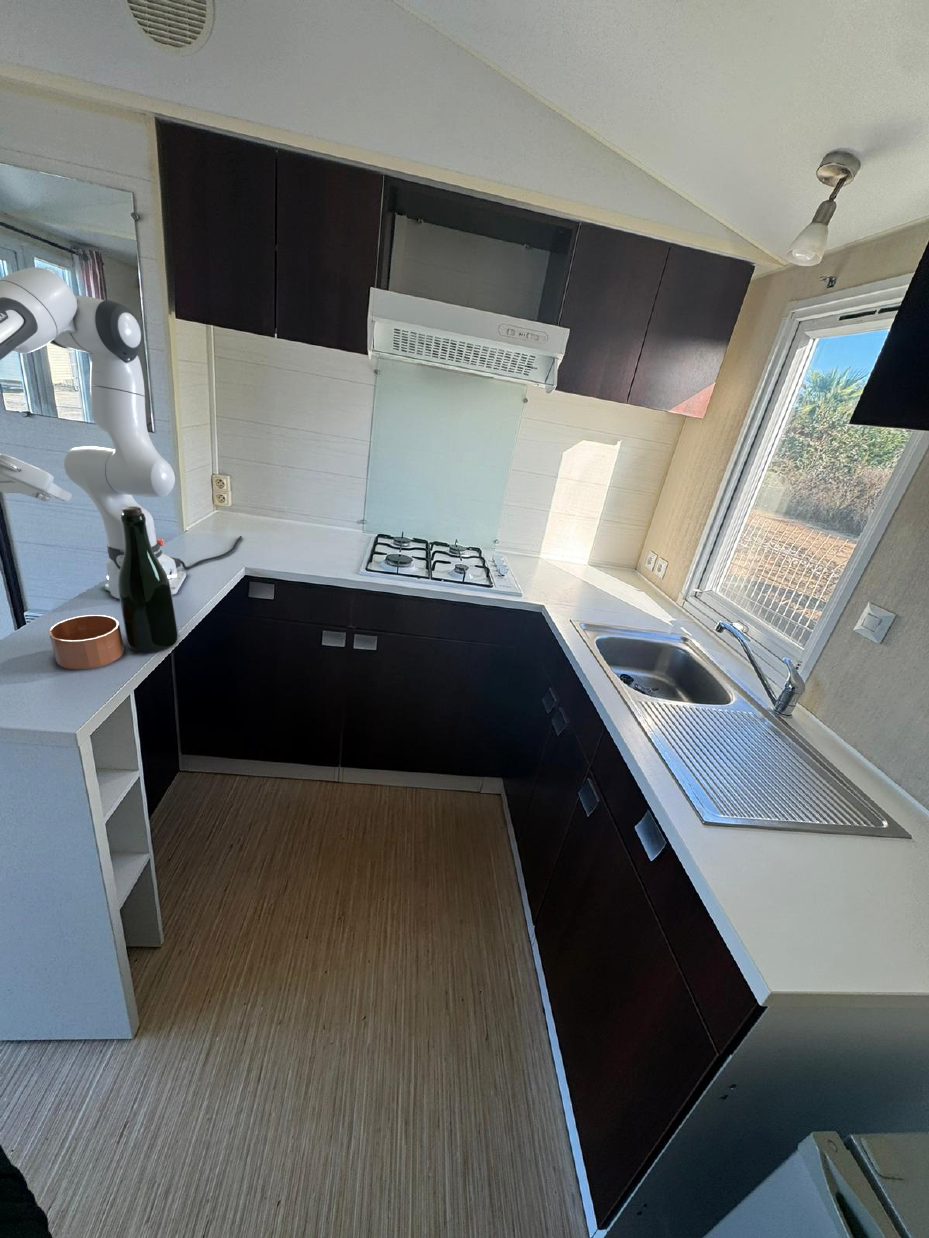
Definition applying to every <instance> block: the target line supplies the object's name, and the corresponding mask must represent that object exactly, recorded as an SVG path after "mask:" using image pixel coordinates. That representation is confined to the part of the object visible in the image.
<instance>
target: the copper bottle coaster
mask: <svg viewBox="0 0 929 1238" xmlns="http://www.w3.org/2000/svg"><path fill="white" fill-rule="evenodd" d="M48 635H49V639H50V644H51V646H52V650H53V654H54V657H55V661H56V664H57V665H58V666H60V667H62V668H65V669H67V670H76V671H77V670H90V669H96V668H99V667H104V666H106V665H109V664H112V663H114V662H115V661H117V660H119V659H120V658H121V657H122V656H123V655H124V652H125V646H124V641H123V635H122V631H121V626H120V623H119V621H118V619H116V618H115V617H113V616H109V615H103V614H102V615H101V614H89V615H86V614H85V615H80V616H74V617H71V618H67V619H64V620H62V621H59V622H56V623H55V624H54V625H53V626H51V627H50V628H49V630H48Z"/></svg>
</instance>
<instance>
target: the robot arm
mask: <svg viewBox="0 0 929 1238" xmlns="http://www.w3.org/2000/svg"><path fill="white" fill-rule="evenodd" d="M48 344H51V345H54V346H55V347H58V348H62V349H67V350H68V349H71V350H75V351H78V352H84V353H87V355H88V357H89V360H90V370H89V390H90V410H91V411H90V412H91V419H92V421H93V422H94V423H95V425H96V426H97V427H98V428H100V429H101V430H102V431H104V432H105V433H107V434H108V436H109V438H110V440H111V441H112V444H113V447H114V448H109V447H101V446H96V445H94V446H93V445H91V446H90V445H89V446H77V447H73V448H71V449H69V450H68V452H67V453H66V454H65V457H64V460H63V468H64V471H65V473H66V476H67V477H68V478H69V480H70V481H71V482H72V483H74V484H75V485H76V486H78V487H79V488H81V489H82V491H84V492H85V493H86V494H87V496H88V497H89V498H90V499H91V501H92V502H93V503H94V505H95V507H96V509H97V510H98V512H99V514H100V516H101V518H102V521H103V525H104V529H105V533H106V538H107V542H108V543H107V545H106V546H107V547H106V549H107V550H106V551H107V554H108V558H109V559H108V560H107V561H106V579H107V583H105V584H104V589H105V590H106V591H108V592H109V593H110V595H111V597H113V598H115V599H118V600H120V598H119V589H118V576H119V572H120V568H121V565H122V561H123V558H124V552H125V539H124V530H123V524H122V521H121V514H122V513H123V508H124V507H139V508H141V510H142V513H143V514H144V515H145V517H146V527H147V533H148V537H149V541H150V545H151V548H152V550H153V552H154V554H155V556H156V557H157V559H158V561H159V562H160V564H161V565H162V567H163V569H164V570H165V572H166V574H167V577H168V579H169V583H170V588H171V592H172V596H173V595H176V594H177V593H178V591H179V590H180V588H181V586H182V584H183V582H184V581H185V579H186V577H187V574H186V572H184V571H181V570H179V569H178V568H179V567H181V566H182V568H183V569H185V570H189V569H193V568H195V567H196V566H198V565H200V564H202V563H205V562H208V561H212V560H217V559H220V558H222V557H225V556H227V555H229V554H231V553H232V552H234V550H235V549H236V547H237V545H238V544H239V542H240V540H241V539H242V538H243V536H242V535H240V536H239V537H238V539H236V541H235V542H234V544H233V546H232V548H231V549H229V550H228V551H226V552H223V553H222V554H220V555H216V556H212V557H207V558H204V559H200V560H198V561H196V562H195V563H193V564H191V565H190V566H186V564H185V562H184V561H183V560H182V559H181V558H179V557H178V558H177V557H173V556H168V555H167V554H165V553H164V552H163V551H162V548H161V547H164V546H165V540H164V539H162V538H160V539H159V538H157V536H156V535H157V534H156V528H155V523H154V518H153V516H152V514H151V512H149V511H148V510H147V509H145V507H143V506H141V505H140V504H139V503H138V502H137V501H136V500H135V498H134V497H133V496H135V497H141V498H161V497H162V498H163V497H166V496H168V495H169V494H171V492H172V491H173V489H174V487H175V484H176V475H175V472H174V470H173V467H172V466H171V464H170V463H169V461H167V460H166V459H165V458H164V457H162V455H161V454H160V453H159V452H158V450H157V449H156V448H155V445H154V444H153V441H152V440H151V436H150V433H149V431H148V426H147V413H146V397H145V396H146V393H145V381H144V375H143V374H144V373H143V370H142V369H143V368H142V364H141V360H140V357H139V356H138V355H139V352H140V350H141V347H142V345H143V330H142V326H141V323H140V321H139V320H138V318H137V316H136V315H135V314H134V312H133V311H132V310H131V309H130V308H129V307H127V306H126V305H123V304H122V303H120V302H116V301H113V300H110V299H106V300H104V299H101V298H97V297H93V296H88V295H87V296H86V295H79V294H77V295H75V293H74V292H73V290H72V288H71V286H69V284H68V283H67V282H66V281H65V280H64V279H63V278H62V277H61V276H60V275H58V274H56V273H54V272H53V271H52V270H49V269H46V268H44V267H39V266H34V267H32V266H31V267H27V268H23V269H20V270H16V271H14V272H11V273H9V274H7V275H5V276H2V277H1V278H0V361H2V360H3V359H4V358H5V357H7V356H8V355H9V354H10V353H12V352H16V353H19V354H25V355H26V354H29V353H32V352H35V351H37V350H39V349H42V348H43V347H45V346H47V345H48ZM54 479H55V477H54V476H53V474H51V473H50V472H47V471H45V470H44V469H42V468H39V467H37V466H34V465H32V464H30V463H28V462H26V461H23V460H20V459H18V458H16V457H13V456H11V455H8V454H3V453H0V493H4V494H21V495H25V496H28V497H32V498H35V499H37V500H40V501H42V502H48V501H50V498H51V496H52V497H54V498H55V499H57V500H59V501H62V502H70V500H71V498H72V496H73V495H72V493H71V492H69V491H67V490H64V489H63V488H62V487H60V486H59V485H57V484H56V483H54Z"/></svg>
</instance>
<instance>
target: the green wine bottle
mask: <svg viewBox="0 0 929 1238" xmlns="http://www.w3.org/2000/svg"><path fill="white" fill-rule="evenodd" d="M121 521H122V524H123V530H124V539H125V552H124V558H123V561H122V565H121V568H120V572H119V576H118V589H119V598H120V599H119V604H120V610H121V615H122V616H121V617H122V622H123V628H124V633H125V639H126V643H127V646H128V647H129V649H130V650H133V651H136V652H141V653H157V652H160V651H164V650H165V651H166V650H167V649H170V648H172V647H173V646H175V644H177V642H178V640H179V629H178V623H177V617H176V612H175V610H176V609H175V605H174V598H173V595H172V592H171V588H170V583H169V579H168V577H167V574H166V572H165V570H164V569H163V567H162V565H161V564H160V562H159V561H158V559H157V557H156V556H155V554H154V552H153V550H152V548H151V545H150V541H149V537H148V533H147V527H146V517H145V515H144V514H143V513H142V510H141V508H139V507H124V508H123V513H122V514H121Z"/></svg>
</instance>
